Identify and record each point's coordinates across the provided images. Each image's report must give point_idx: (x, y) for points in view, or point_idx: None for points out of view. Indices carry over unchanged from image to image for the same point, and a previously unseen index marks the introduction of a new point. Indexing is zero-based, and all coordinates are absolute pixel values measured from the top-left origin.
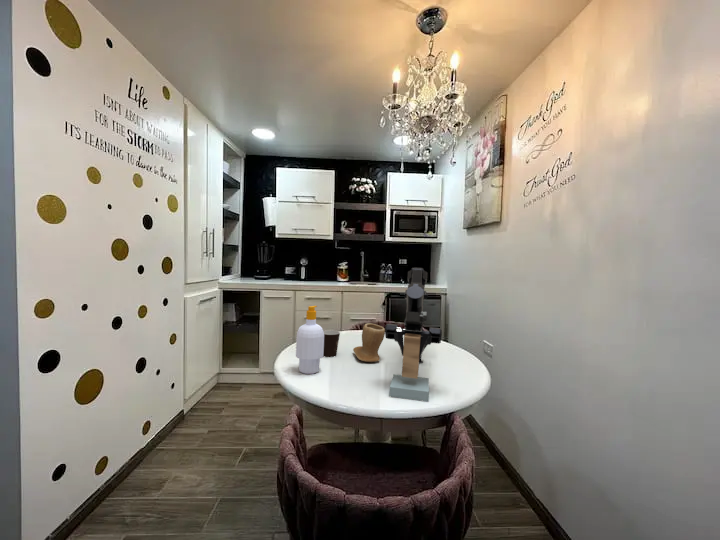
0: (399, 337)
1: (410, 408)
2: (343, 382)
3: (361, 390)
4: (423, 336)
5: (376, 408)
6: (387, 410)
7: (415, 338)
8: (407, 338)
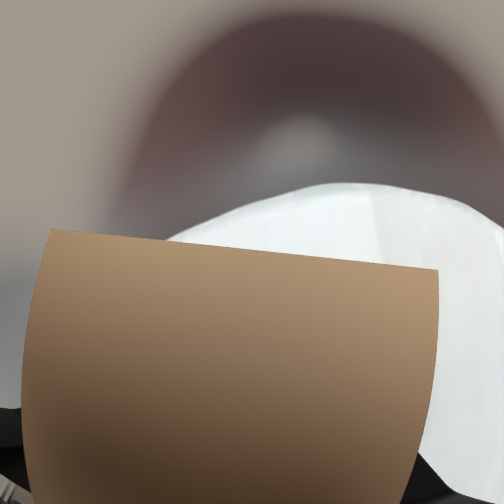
0: (442, 497)
1: (273, 212)
2: (493, 370)
3: (445, 323)
4: (4, 438)
5: (378, 195)
6: (345, 188)
7: (132, 246)
8: (343, 273)
